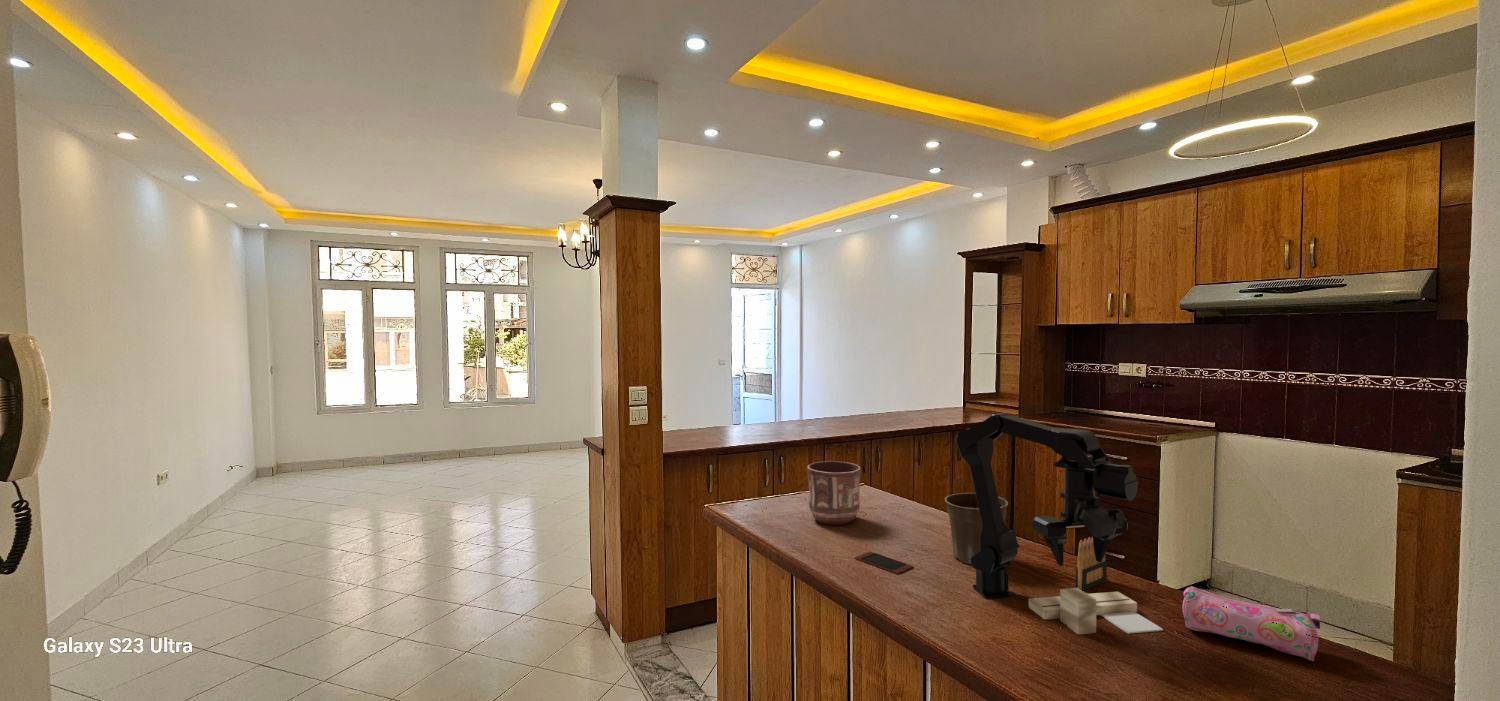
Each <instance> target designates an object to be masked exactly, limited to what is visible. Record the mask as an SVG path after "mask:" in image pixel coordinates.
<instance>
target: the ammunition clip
mask: <svg viewBox="0 0 1500 701" xmlns="http://www.w3.org/2000/svg"><path fill="white" fill-rule="evenodd" d="M1107 566H1108V565H1107V560H1106V554H1105V555H1104V557H1103V560H1102V562H1098V561H1096V557H1095V552H1094V544H1093V536H1089V537H1088V538H1084V539H1080V541H1079V544H1078V553H1077V566H1076V568H1075V588H1079V589H1080V590H1083V592H1085V591H1086V590H1089V589H1091V588H1093V587H1095V586H1098V585H1100V584H1103V583H1105V582H1107V581H1108V574H1107V573H1108V572H1107V571H1108V570H1107V569H1108V567H1107Z"/></svg>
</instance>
